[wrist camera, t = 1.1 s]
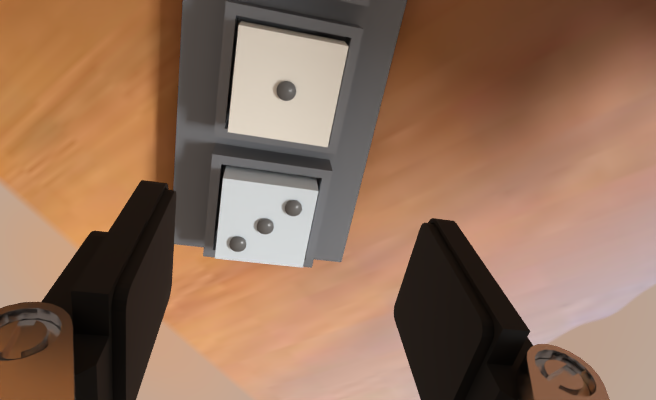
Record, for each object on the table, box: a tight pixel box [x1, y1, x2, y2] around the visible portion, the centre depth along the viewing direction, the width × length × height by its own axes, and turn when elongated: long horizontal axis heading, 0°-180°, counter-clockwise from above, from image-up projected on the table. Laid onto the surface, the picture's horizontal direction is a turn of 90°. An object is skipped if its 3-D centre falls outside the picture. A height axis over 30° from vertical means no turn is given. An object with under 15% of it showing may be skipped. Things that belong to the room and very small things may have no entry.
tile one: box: [228, 21, 349, 147], centre depth 27 cm, size 6×6×2 cm
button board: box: [173, 0, 407, 268], centre depth 29 cm, size 13×27×4 cm, turn 169°
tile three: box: [215, 165, 318, 268], centre depth 30 cm, size 6×6×2 cm
